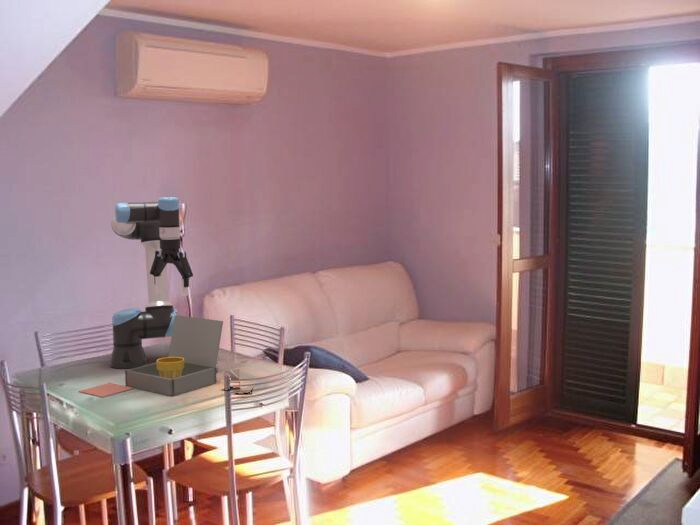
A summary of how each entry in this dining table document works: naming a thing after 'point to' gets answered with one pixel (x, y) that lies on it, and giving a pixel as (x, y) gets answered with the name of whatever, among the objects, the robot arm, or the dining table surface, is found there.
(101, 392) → the mat
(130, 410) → the dining table surface
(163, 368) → the plant pot
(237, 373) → the architectural model
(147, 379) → the case
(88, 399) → the dining table surface
